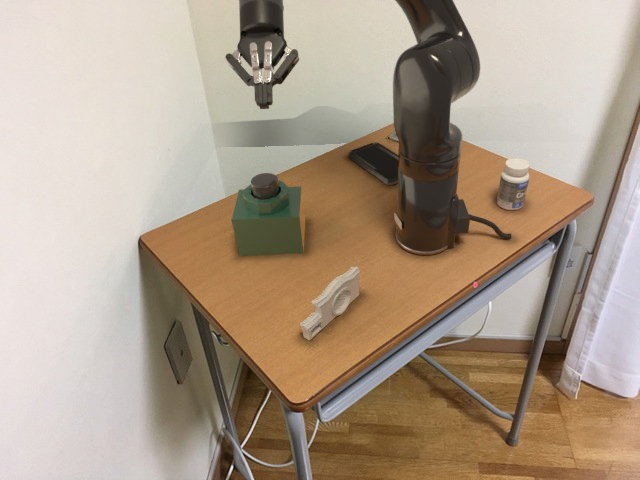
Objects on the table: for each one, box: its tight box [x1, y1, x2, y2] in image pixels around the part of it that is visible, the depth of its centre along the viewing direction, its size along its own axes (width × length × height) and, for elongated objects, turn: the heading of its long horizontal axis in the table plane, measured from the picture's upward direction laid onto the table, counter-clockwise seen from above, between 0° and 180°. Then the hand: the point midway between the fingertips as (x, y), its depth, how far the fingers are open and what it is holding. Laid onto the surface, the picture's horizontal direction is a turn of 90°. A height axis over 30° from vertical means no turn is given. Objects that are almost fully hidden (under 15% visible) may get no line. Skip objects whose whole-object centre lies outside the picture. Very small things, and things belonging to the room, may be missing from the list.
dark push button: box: [250, 172, 279, 200], centre depth 85 cm, size 4×4×2 cm
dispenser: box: [231, 179, 306, 257], centre depth 88 cm, size 11×9×10 cm
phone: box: [348, 142, 399, 186], centre depth 108 cm, size 8×1×15 cm
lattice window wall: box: [299, 266, 361, 342], centre depth 74 cm, size 12×2×6 cm, turn 139°
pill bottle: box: [496, 157, 531, 211], centre depth 92 cm, size 5×5×8 cm
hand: (264, 107), depth 87 cm, fingers closed
